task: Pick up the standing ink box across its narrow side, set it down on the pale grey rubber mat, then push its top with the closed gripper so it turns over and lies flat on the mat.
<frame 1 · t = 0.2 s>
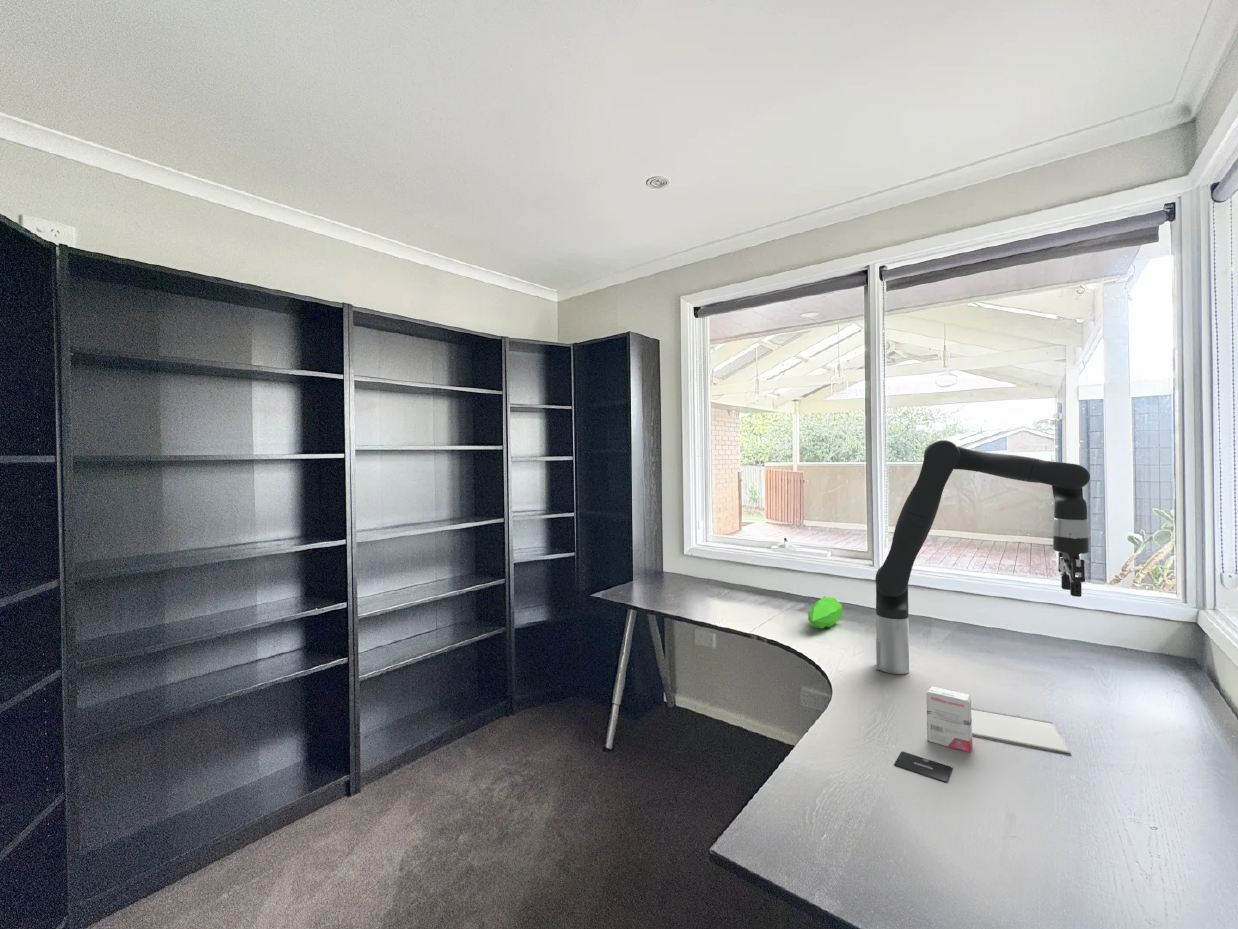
hand: (1071, 592, 146), 29 cm above the table, fingers open, 8 cm apart
ink box: (949, 744, 123), on the table
green faceted egg part: (822, 627, 212), on the table
solid state drive: (923, 769, 113), on the table
mat: (999, 727, 130), on the table
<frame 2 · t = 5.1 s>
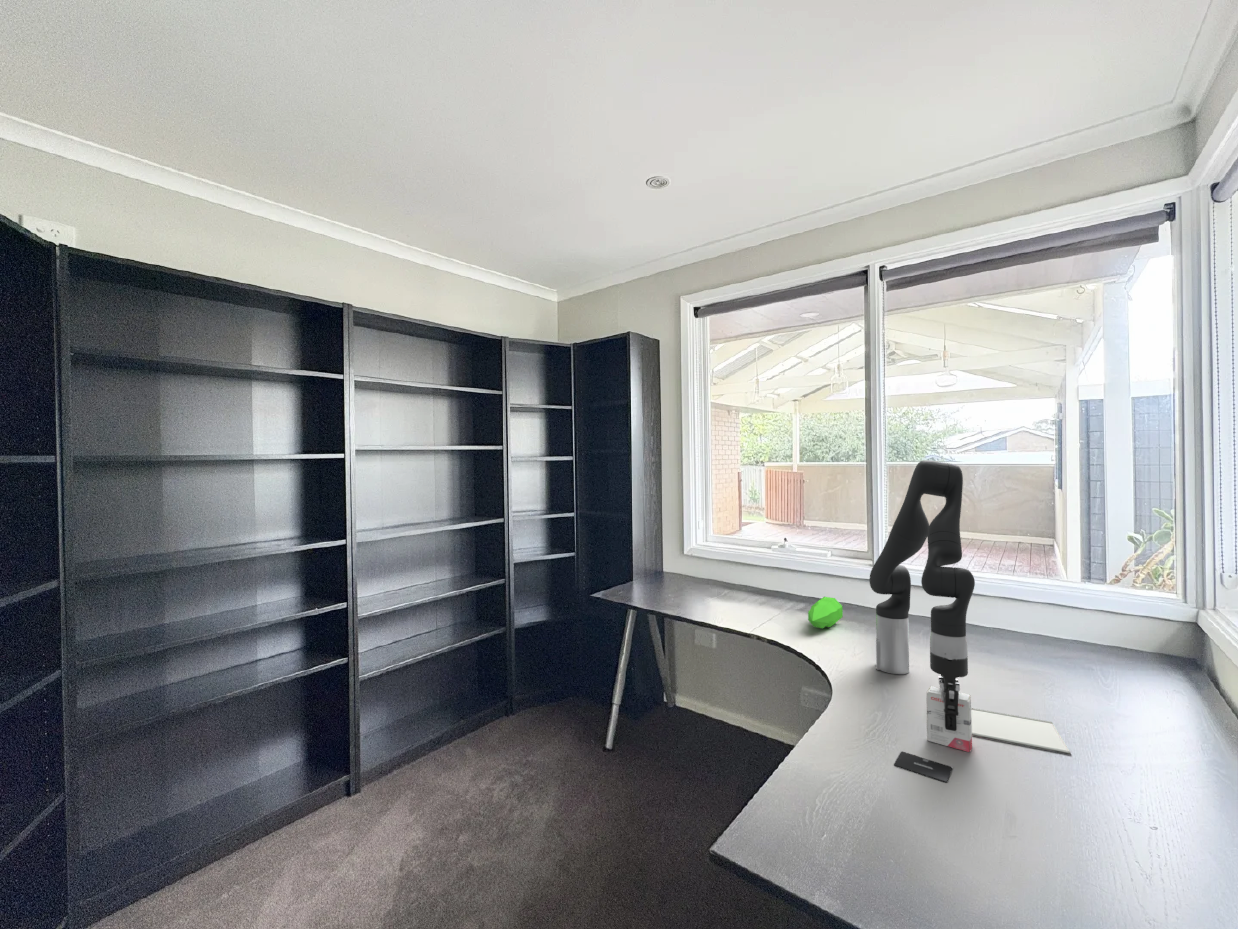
hand: (949, 723, 123), 5 cm above the table, fingers closed on ink box, 5 cm apart
ink box: (949, 743, 123), on the table, touching gripper
everything else where it was.
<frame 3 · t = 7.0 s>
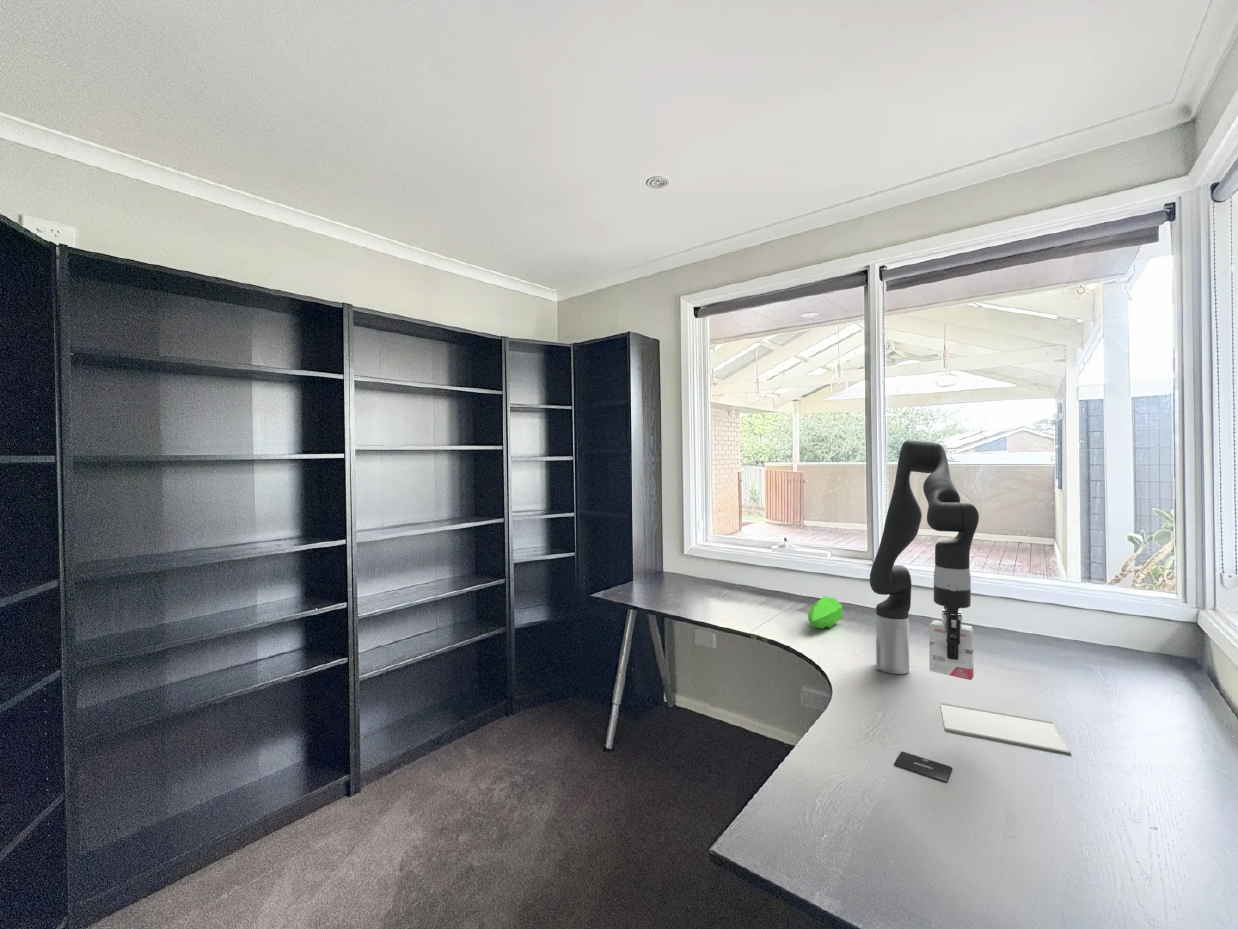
hand: (951, 654, 126), 20 cm above the table, fingers closed on ink box, 5 cm apart
ink box: (951, 673, 126), point 15 cm above the table, touching gripper
everything else where it was.
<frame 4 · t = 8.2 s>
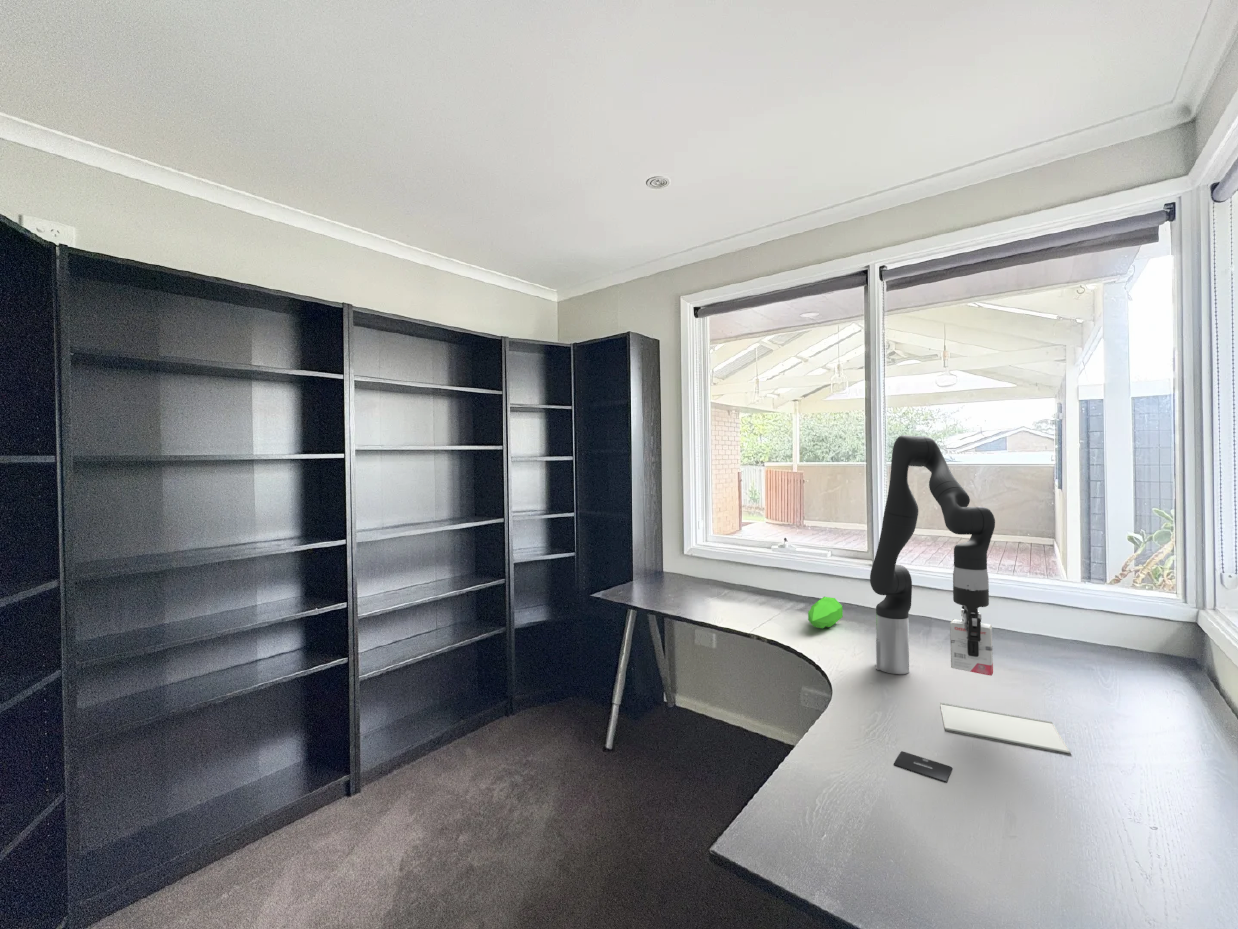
hand: (971, 651, 132), 18 cm above the table, fingers closed on ink box, 5 cm apart
ink box: (972, 670, 132), point 13 cm above the table, touching gripper
everything else where it was.
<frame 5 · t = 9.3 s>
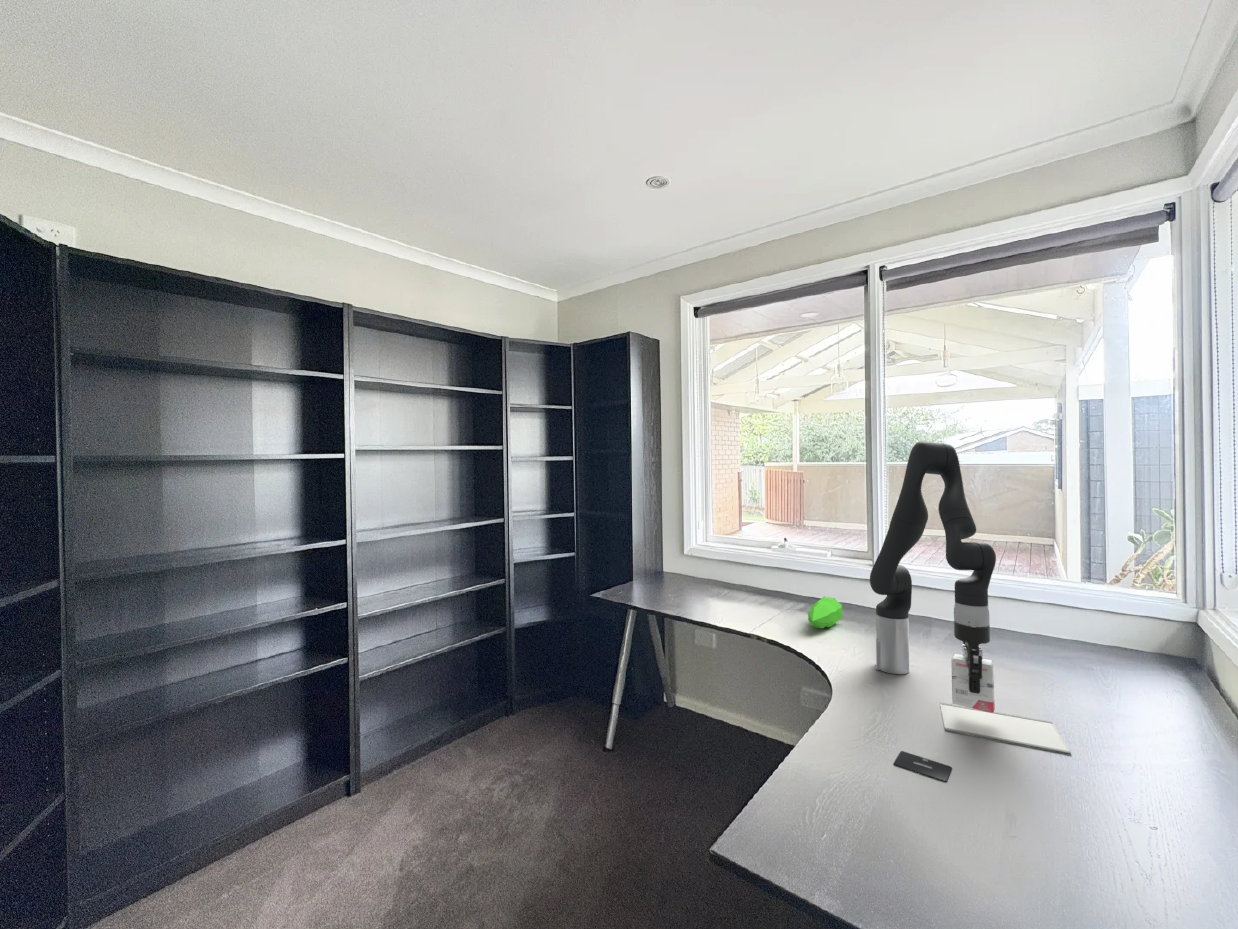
hand: (972, 687, 132), 9 cm above the table, fingers closed on ink box, 5 cm apart
ink box: (973, 706, 132), point 4 cm above the table, touching gripper
everything else where it was.
when the fingers open (5 cm above the table, at t = 10.4 s): ink box stays where it is, resting on mat.
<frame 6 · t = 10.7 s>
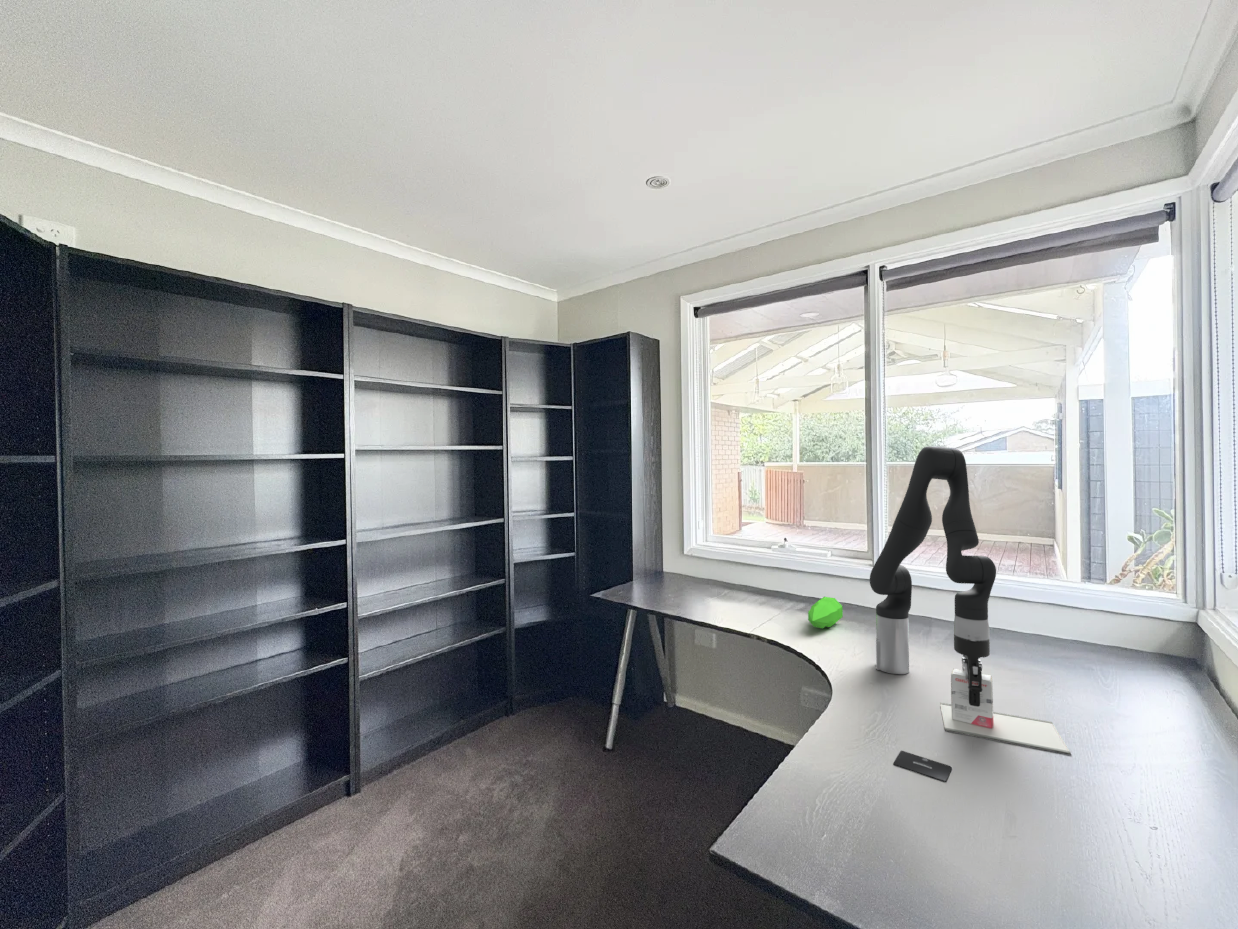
hand: (972, 698, 132), 6 cm above the table, fingers open, 8 cm apart
ink box: (972, 721, 132), resting on mat
everything else where it was.
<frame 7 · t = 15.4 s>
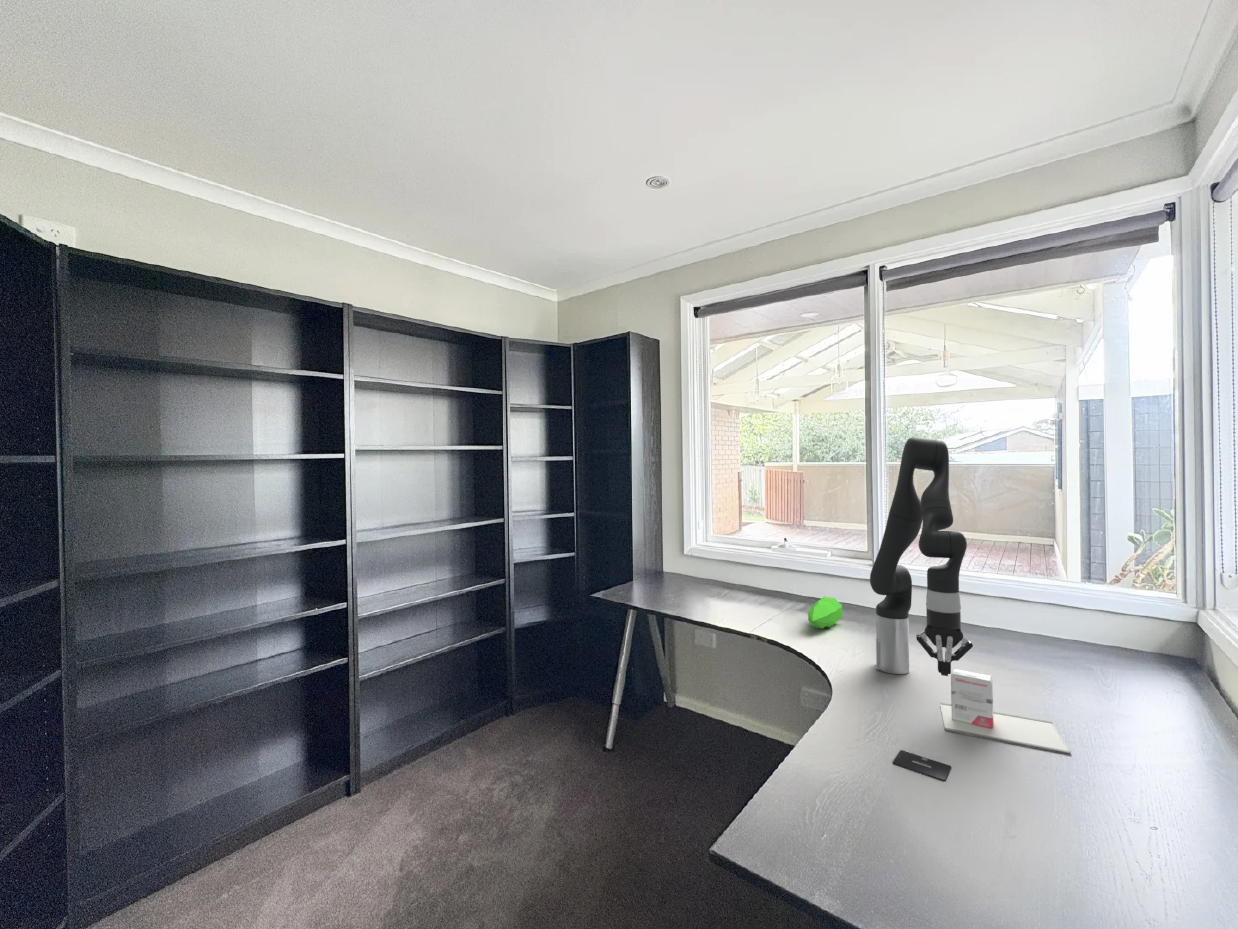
hand: (944, 674, 135), 11 cm above the table, fingers closed
ink box: (972, 721, 132), resting on mat, touching gripper
everything else where it was.
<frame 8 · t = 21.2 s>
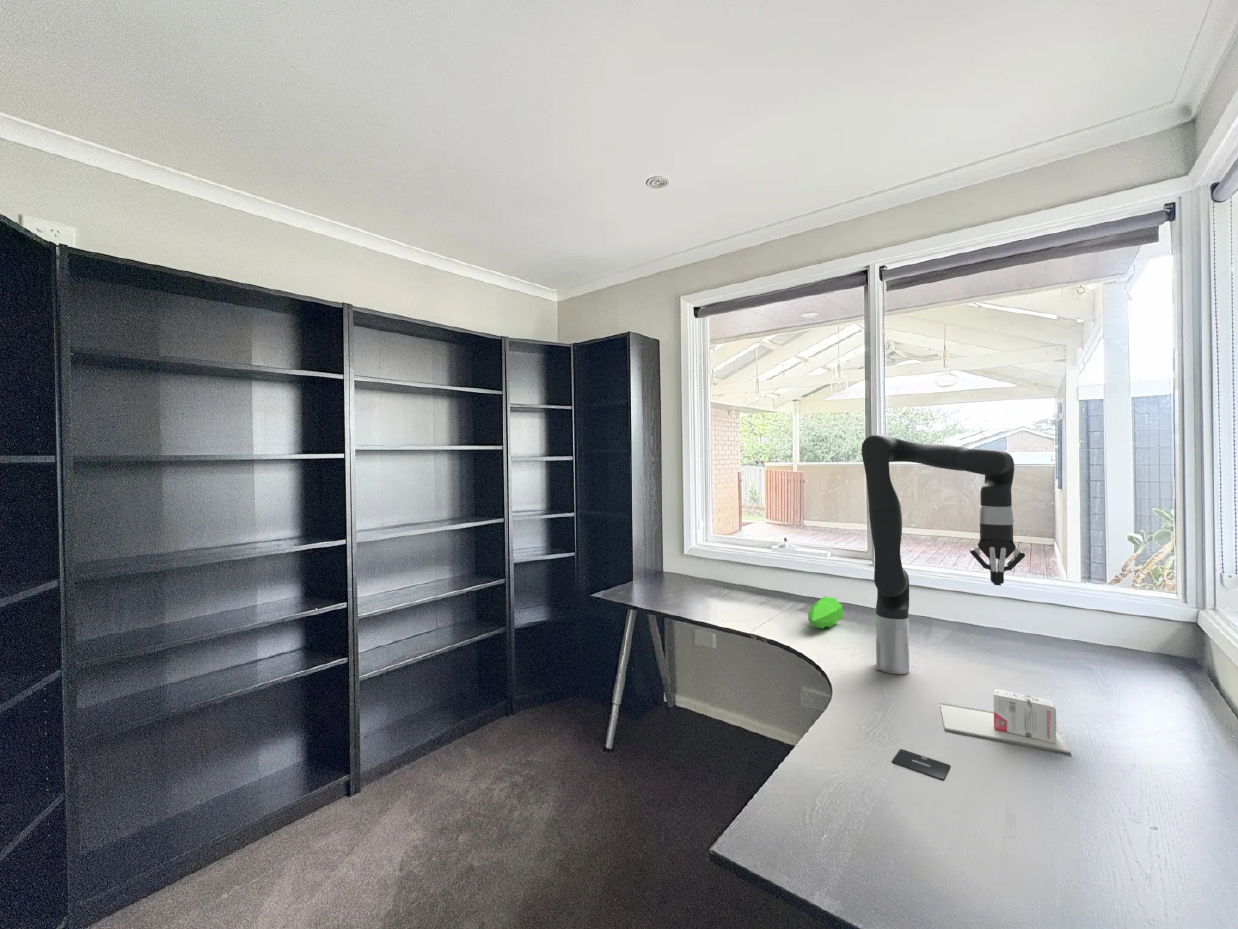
hand: (997, 584, 145), 32 cm above the table, fingers closed
ink box: (992, 708, 130), point 5 cm above the table, touching mat
everything else where it was.
at the end: ink box tilted 91°; ink box inside the target area on the mat (2.0 cm from its centre), point 4.8 cm above the mat's base; the gripper is holding nothing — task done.
